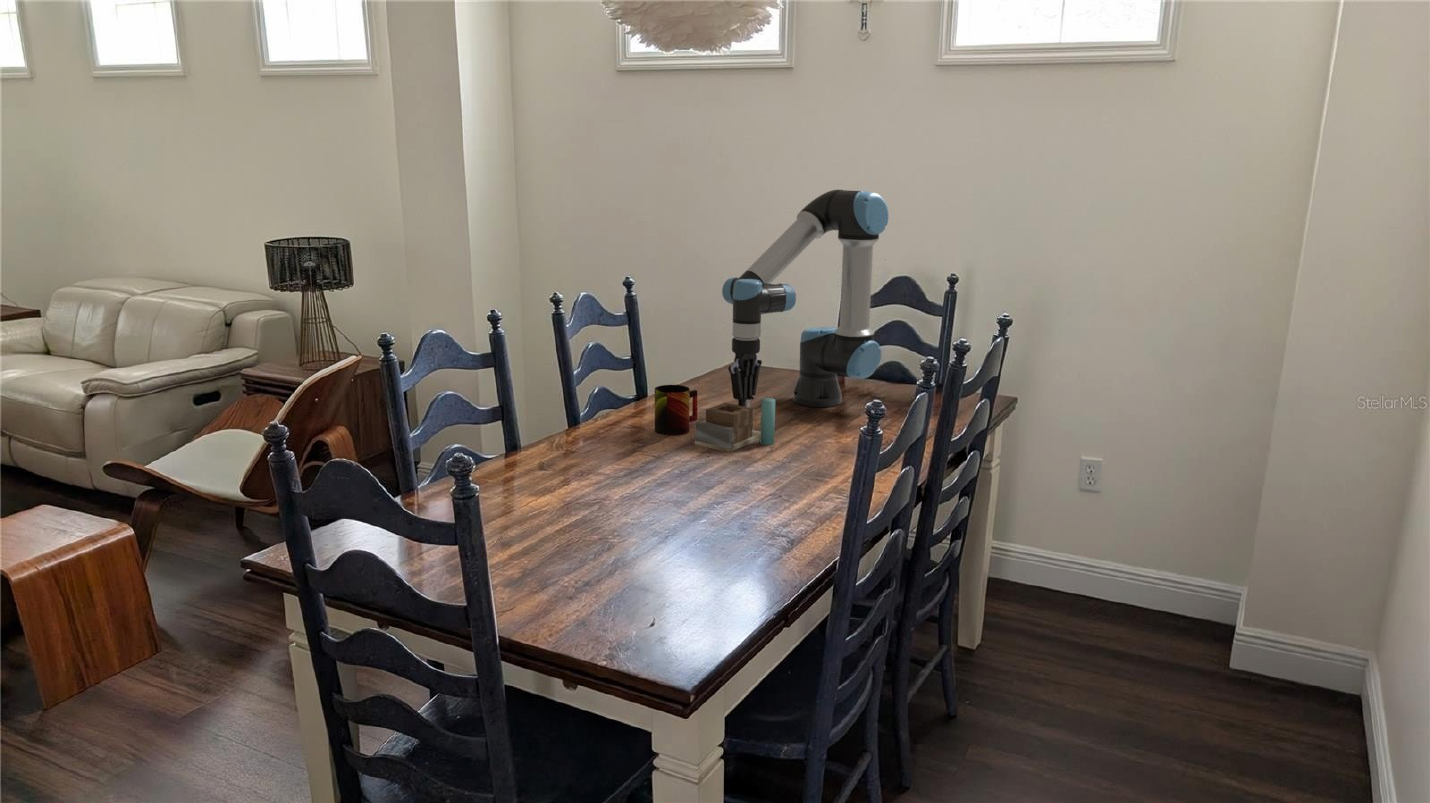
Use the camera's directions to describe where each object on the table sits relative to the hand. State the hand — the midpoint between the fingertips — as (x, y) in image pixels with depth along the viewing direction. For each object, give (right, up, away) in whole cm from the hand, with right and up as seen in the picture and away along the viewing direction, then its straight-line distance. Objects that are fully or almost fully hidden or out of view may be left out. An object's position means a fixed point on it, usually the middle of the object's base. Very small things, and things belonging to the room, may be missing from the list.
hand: (743, 422), depth 274 cm
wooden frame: (-3, -5, -4) cm, 7 cm away
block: (-4, -4, -5) cm, 8 cm away
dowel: (+6, -5, -6) cm, 10 cm away
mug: (-19, -2, +6) cm, 20 cm away
